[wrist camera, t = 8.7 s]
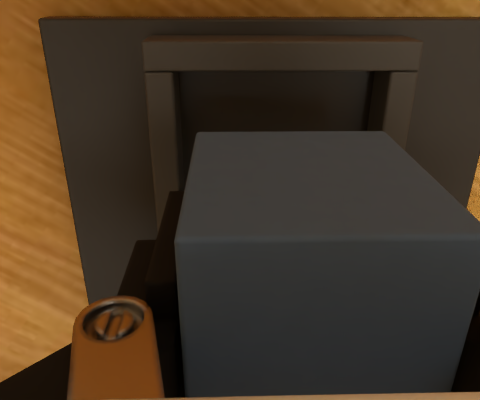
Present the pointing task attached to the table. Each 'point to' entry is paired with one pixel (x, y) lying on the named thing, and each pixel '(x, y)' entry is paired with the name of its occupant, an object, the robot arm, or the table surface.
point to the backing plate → (243, 104)
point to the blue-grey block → (320, 267)
